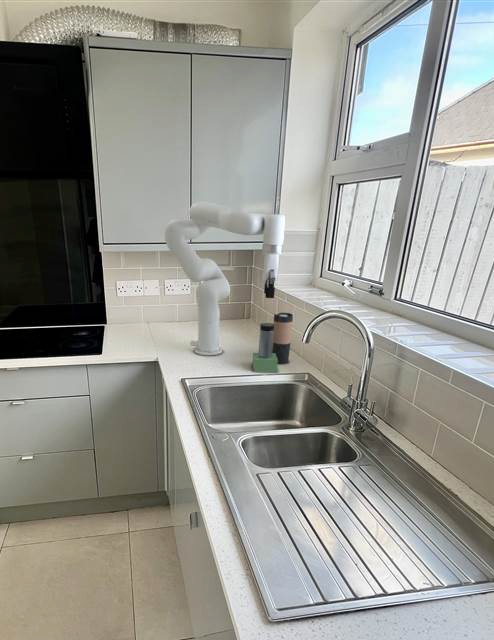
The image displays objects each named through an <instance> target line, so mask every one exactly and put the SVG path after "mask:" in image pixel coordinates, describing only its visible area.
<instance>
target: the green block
mask: <svg viewBox="0 0 494 640" xmlns="http://www.w3.org/2000/svg"><path fill="white" fill-rule="evenodd" d="M258 355H259V352H252V369H253V372H254V373H278V365H279V364H278V359H277V357H276V354H275V353H272V358H267V359H265V358H260V357H259V356H258Z"/></svg>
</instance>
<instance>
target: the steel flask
mask: <svg viewBox="0 0 494 640" xmlns="http://www.w3.org/2000/svg"><path fill="white" fill-rule="evenodd" d="M274 326H275V325H274V324H273V323H271V322H262V323H260V325H259V327H260V328H259V340H258V341H259V342H258V353H259V355H258V356H259V357H260V358H265V359H267V358H272V352H273V339H274Z"/></svg>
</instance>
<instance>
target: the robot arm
mask: <svg viewBox="0 0 494 640" xmlns="http://www.w3.org/2000/svg"><path fill="white" fill-rule="evenodd" d="M188 215H189V218H174V219H172V220H170V221H168V223H167V224H166V226H165V229H164V240H165V244H166V246H167V248H168V250H169V251H170V252H171V254H172V255H173V257H174V258H175V260H176V261H177V262H178V264H179V265H180V267H181V269H182V271H183V272H184V274H185V275H186V277H187V278H188V279H189V281H191V282H192V283H200V284H198V286H197V287H196V289H195V297H196V303H197V315H198V316H197V340H190V342H189V343H190V346H192V347H195V348H194V353H195V354H197V355H201V356H217V355H220V354H222V353H223V347H221V346H220V327H221V326H220V320H221V319H220V318H221V311H220V306H219V302H221V301H223V300H225V299H227V298H228V297H229V295H230V294H231V285H230V283H229V281H228V280H227V277H226V276H225V275H224V273H223V272H222V270H221V269H220V267H219V266H218V264H217V263H216V262H215V261H214V260H213V259H211V258H207V257H205V258H201V257H200V256H199V255H198V254H197V252H196V251H195V249H194V247H192V246H191V245H190V243H188V242H187V240H195V239H197V238H199V237H200V236H202V235H203V234H204V233H205V232H206V231H208V230H209V229H210V228H215V229H219V230H222V231H226V232H228V233H229V232H230V233H233V234H236V235H237V234H239V235H242V236H259V235H262V236H263V237H262V248H261V249H262V250H261V251H262V253H261V254H262V255H264V257H263V266H262V267H263V268H262V278H261V279H262V281H263V282H264V288H263V293H264V294H265V298H266V299H274V298H275V291H276V284H275V283H276V281H277V279H278V271H279V263H280V256H281V255H283V249H284V240H285V230H286V229H285V228H286V216H285V215H284V214H281V213H280V214H279V213H275V214H274V213H272V214H271V213H270V214H264V213H254V212H253V213H251V212H250V213H249V212H242V211H236V210H232V209H230V207H229V206H227V205H223V204H222V205H221V204H217V203H214V202H212V201H197V202H194V203H193V204H191V206H190V208H189V210H188Z"/></svg>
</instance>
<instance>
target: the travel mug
mask: <svg viewBox="0 0 494 640" xmlns="http://www.w3.org/2000/svg"><path fill="white" fill-rule="evenodd" d="M293 320H294V315H293V314H292V313H290V312H278V313H274V314H273V323H272V324H274V325H275V326H274V339H273V352H272V353H275V354H276V357H277V359H278V365H284V364H288V363H289V357H290V351H291V344H292V343H291V342H292V332H293V331H292V330H293Z"/></svg>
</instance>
